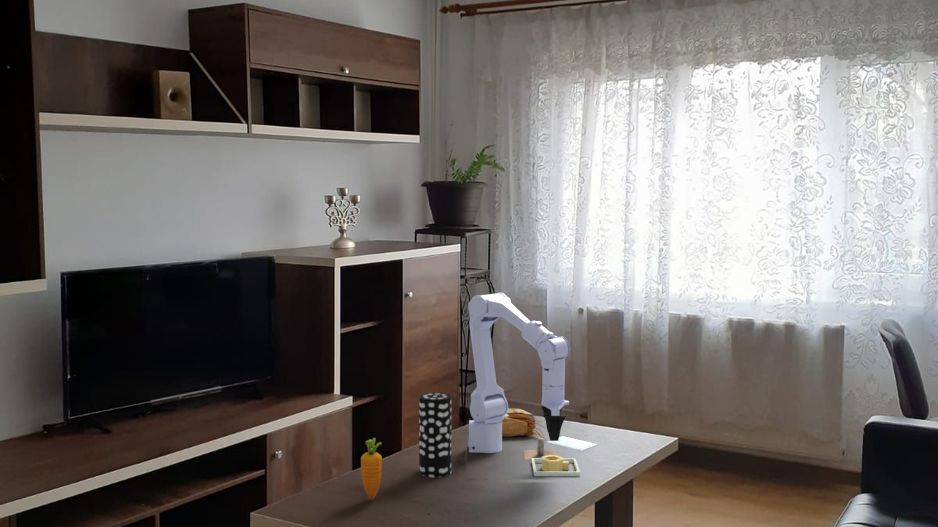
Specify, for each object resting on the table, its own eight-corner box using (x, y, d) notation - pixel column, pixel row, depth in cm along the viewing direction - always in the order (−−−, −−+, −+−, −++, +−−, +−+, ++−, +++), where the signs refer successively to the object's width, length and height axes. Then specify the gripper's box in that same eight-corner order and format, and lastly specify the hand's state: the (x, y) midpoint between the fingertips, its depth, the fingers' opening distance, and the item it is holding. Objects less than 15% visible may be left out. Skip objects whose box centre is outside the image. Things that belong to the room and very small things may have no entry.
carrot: (371, 495, 223) (371, 433, 221) (386, 499, 220) (386, 437, 218) (356, 500, 219) (356, 438, 217) (371, 505, 216) (371, 442, 214)
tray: (534, 478, 235) (534, 471, 235) (531, 464, 247) (531, 458, 246) (580, 479, 235) (580, 472, 235) (575, 464, 246) (575, 458, 246)
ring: (569, 472, 238) (569, 461, 238) (542, 472, 238) (542, 461, 238) (567, 466, 243) (567, 455, 243) (541, 466, 243) (541, 455, 243)
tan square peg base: (524, 462, 248) (524, 443, 248) (523, 452, 257) (523, 434, 257) (558, 462, 248) (558, 443, 248) (555, 452, 257) (555, 434, 257)
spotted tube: (447, 478, 235) (447, 400, 233) (415, 476, 237) (415, 399, 235) (454, 468, 243) (454, 393, 241) (423, 466, 245) (423, 391, 243)
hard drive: (546, 441, 265) (582, 449, 256) (563, 435, 271) (599, 443, 262) (546, 447, 265) (582, 455, 256) (563, 441, 271) (599, 449, 262)
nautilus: (559, 442, 270) (523, 455, 260) (507, 422, 285) (471, 434, 275) (560, 415, 268) (523, 428, 258) (507, 398, 284) (471, 408, 274)
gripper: (571, 391, 231) (571, 444, 233) (566, 378, 246) (565, 428, 247) (543, 390, 231) (542, 444, 233) (539, 378, 246) (539, 428, 247)
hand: (552, 436), depth 240 cm, fingers open, 7 cm apart
